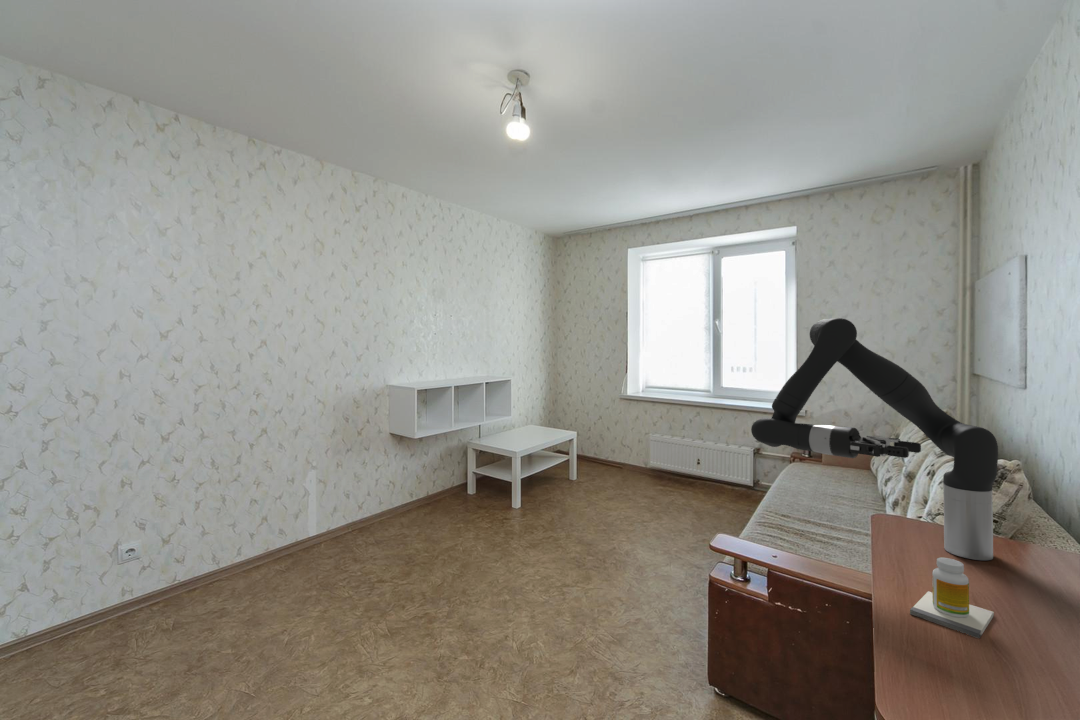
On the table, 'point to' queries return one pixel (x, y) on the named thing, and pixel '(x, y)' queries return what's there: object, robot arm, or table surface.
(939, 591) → the supplement bottle
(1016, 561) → the table surface
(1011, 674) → the table surface
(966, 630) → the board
